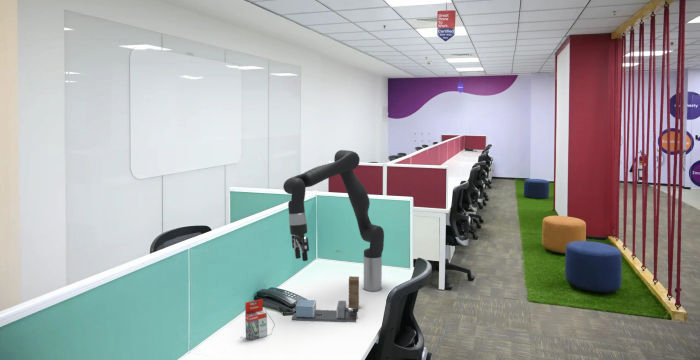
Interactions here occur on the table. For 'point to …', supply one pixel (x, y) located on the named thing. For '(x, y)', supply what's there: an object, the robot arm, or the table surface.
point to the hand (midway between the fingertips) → (301, 259)
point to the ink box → (255, 320)
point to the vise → (333, 314)
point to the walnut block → (353, 292)
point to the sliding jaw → (306, 308)
